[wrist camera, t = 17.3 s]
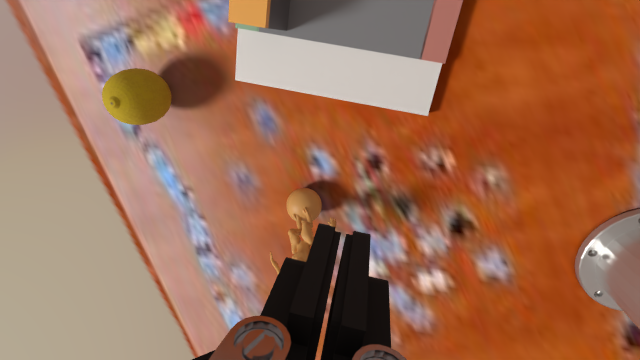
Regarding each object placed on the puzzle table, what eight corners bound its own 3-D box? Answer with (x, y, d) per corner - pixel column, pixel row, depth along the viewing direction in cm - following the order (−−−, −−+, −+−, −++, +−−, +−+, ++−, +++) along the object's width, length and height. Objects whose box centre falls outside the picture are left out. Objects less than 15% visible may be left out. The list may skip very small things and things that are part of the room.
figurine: (326, 167, 39) (305, 216, 28) (355, 207, 40) (346, 269, 29) (271, 201, 42) (232, 258, 31) (300, 238, 43) (272, 306, 32)
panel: (480, -74, 29) (485, -79, 27) (428, 113, 35) (429, 116, 34) (248, -105, 31) (242, -112, 29) (237, 78, 37) (232, 79, 35)
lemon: (135, 103, 40) (80, 117, 32) (144, 57, 38) (88, 61, 30) (178, 124, 40) (133, 142, 33) (190, 79, 38) (144, 88, 30)
